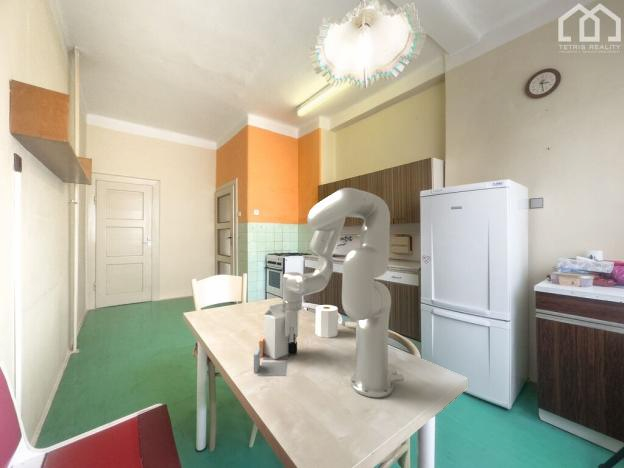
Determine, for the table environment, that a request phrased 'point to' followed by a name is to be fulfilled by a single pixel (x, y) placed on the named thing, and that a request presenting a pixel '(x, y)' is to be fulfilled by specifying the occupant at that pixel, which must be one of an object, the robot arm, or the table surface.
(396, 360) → the table surface
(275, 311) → the milk carton
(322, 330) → the toilet paper
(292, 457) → the table surface
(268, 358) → the tag station
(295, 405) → the table surface
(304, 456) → the table surface
